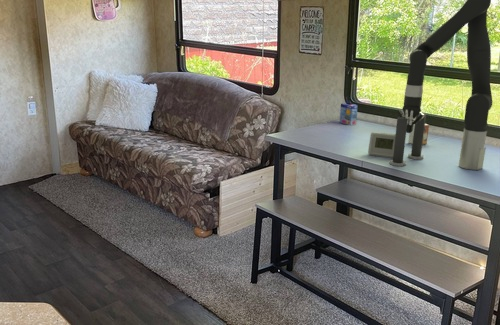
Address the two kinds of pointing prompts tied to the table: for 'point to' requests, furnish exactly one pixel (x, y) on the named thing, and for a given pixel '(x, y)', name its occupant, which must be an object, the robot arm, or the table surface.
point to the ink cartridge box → (348, 113)
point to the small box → (423, 134)
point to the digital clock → (382, 144)
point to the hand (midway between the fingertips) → (408, 132)
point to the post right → (417, 140)
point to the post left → (399, 142)
